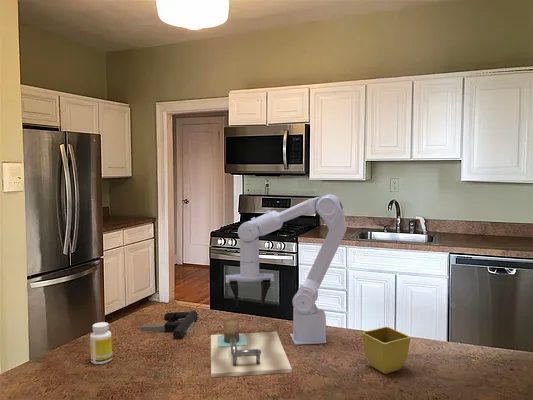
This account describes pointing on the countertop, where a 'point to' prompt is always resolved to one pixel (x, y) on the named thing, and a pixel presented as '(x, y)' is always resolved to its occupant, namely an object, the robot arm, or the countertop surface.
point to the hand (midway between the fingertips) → (249, 304)
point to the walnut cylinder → (231, 329)
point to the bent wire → (243, 352)
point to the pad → (223, 344)
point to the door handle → (174, 323)
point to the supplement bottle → (101, 343)
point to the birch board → (270, 356)
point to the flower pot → (386, 348)
